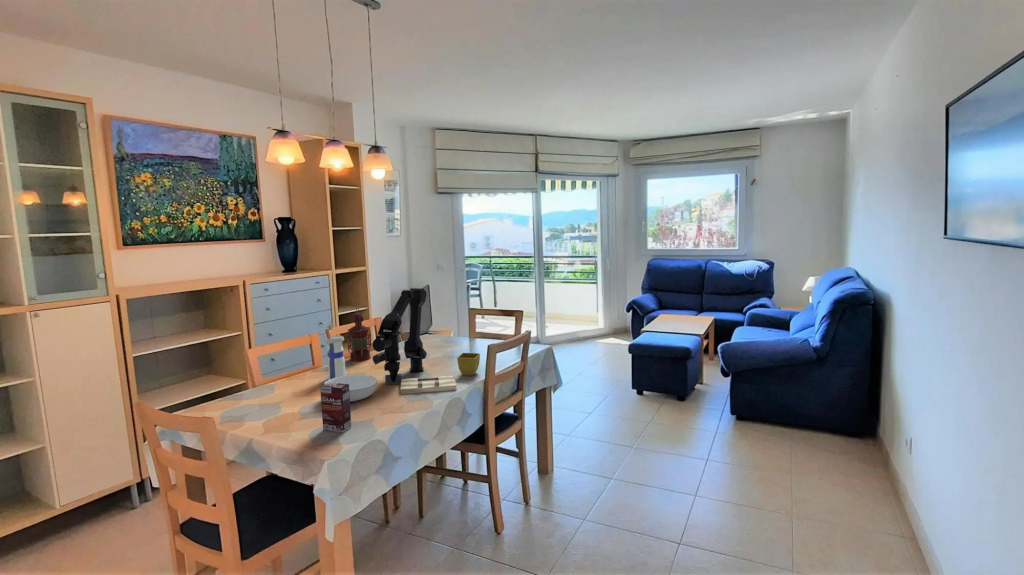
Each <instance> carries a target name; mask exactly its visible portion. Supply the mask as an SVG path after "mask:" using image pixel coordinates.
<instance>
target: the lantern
mask: <svg viewBox="0 0 1024 575" xmlns="http://www.w3.org/2000/svg"><path fill="white" fill-rule="evenodd" d="M355 304H357V305H355V310H356V312H355V313H354V314H353V316H352V319H351V320H352V322H353V323H354V324H355V325H354V326H352V327H350V328H348V329H347V332H348V334H347V335H346V336H347V337H346V340H347V351H348V353H349V354H350V357H349V360H350V361H352V362H363V361H369V360H370V359H372V357H371V352H370V351H371V349H372V347H373V346H372V334H371V332H370V330H371V329H370V327H368V326H365V325H363V322H364V319H365V318H364V316H363V314H362V313H361V312H360V304H359V302H357V301H356V302H355ZM350 350H351V351H350Z"/></svg>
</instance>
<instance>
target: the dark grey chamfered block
mask: <svg viewBox="0 0 1024 575" xmlns="http://www.w3.org/2000/svg"><path fill="white" fill-rule="evenodd" d="M384 378H385V379H384V381H385V382H384V383H385V385H386V386H387V385H398V384H400V385H401V379H403V375H402V373H398V374H397V377H396V379H395V382H392V379H391V376H390V374H385V376H384Z"/></svg>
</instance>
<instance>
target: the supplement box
mask: <svg viewBox="0 0 1024 575" xmlns="http://www.w3.org/2000/svg"><path fill="white" fill-rule="evenodd" d="M324 383H325V382H324ZM324 383H323V384H321V385H320V386H319V389H320V402H321V405H320V406H321V415H322V431H332V432H340V433H346V432H347V431H348V430H349V429H351V428H352V416H351V402H350V393H349V384H342V383H330V382H327V383H325V384H324Z"/></svg>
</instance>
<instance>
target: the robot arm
mask: <svg viewBox="0 0 1024 575" xmlns="http://www.w3.org/2000/svg"><path fill="white" fill-rule="evenodd" d="M426 299H427V291H426V289H425V288H421V287H419V288H418V287H411V288H410V289H403V290H401V292H400V296H399V298H398V299H397V301H396V303H395V305H394V306H393V309H392V310H391V312H389V313H387V314H386V315H385V316H384V318H383V319H381V323H380V325H379V328H378V332H377V335H375V338H374V339H373V341H372V342H371V345H372V346H371V347H372V349H373V350H374V351H375V352H378V353H376V354H374V355H373V356H372V357H371V359H372V362H373V363H374V365H375V366H376V365H378V364H379V363H382V362H384V367H383V369H384V370H383V371H385V372H388V373H389V375H390V376H391V379H392V382H395V379H396V377H397V374H399V370H400V365H401V362H400V361H401V354H400V346H399V345H400V344H399V335H401V332H400V331H399V330H400V328H401V325H402V323H403V321H402V317H403V315H404V313H405V311H406V309H407V307H408V306H409V305H410V317H409V318H410V320H409V333H408V334H409V335H408V338H407V339H406V340H405V341H404V343H403V344H404V346H403V352H404V355H405V359H409V363H410V367H409V373H420V372H421V373H423V372H424V370H425V369H424V366H423V360H424V359H426V358H427V354H428V353H427V351H426V350H425V349H424V344H423V341H422V339H421V336H420V335H421V323H422V322H421V320H422V307H423V306H424V305H425V303H426Z"/></svg>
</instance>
